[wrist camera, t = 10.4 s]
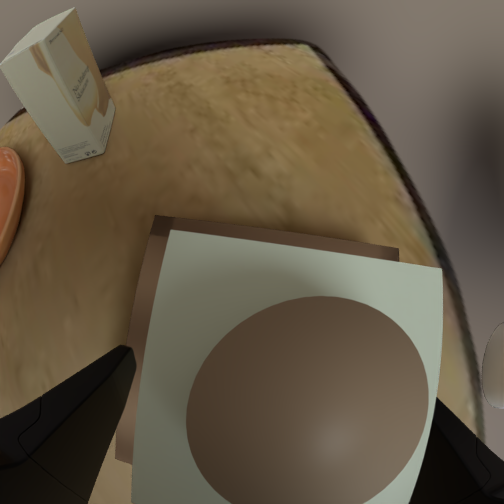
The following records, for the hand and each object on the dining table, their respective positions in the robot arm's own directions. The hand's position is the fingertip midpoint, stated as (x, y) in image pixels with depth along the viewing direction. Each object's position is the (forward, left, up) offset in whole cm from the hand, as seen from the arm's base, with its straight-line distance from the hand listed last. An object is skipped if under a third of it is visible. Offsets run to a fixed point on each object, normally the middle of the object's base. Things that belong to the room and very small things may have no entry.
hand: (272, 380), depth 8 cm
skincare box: (+13, +20, -8) cm, 25 cm away
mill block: (0, 0, -8) cm, 8 cm away
